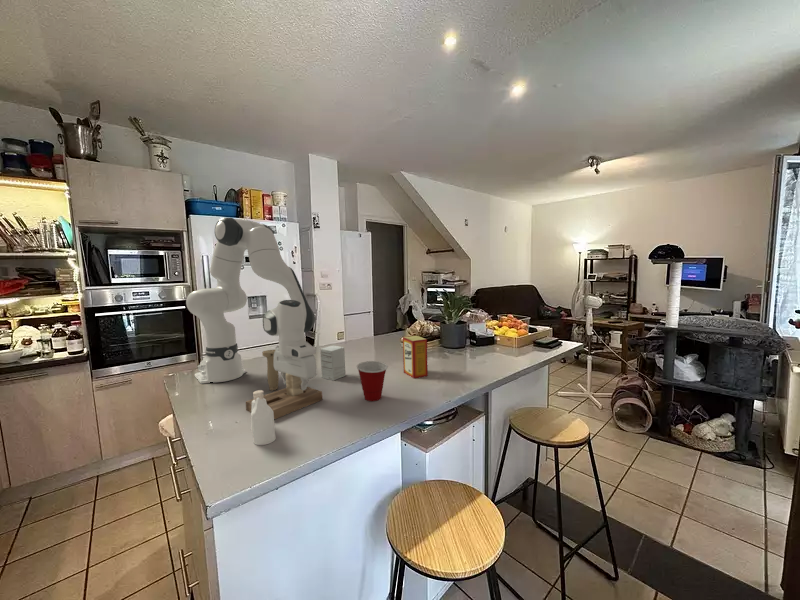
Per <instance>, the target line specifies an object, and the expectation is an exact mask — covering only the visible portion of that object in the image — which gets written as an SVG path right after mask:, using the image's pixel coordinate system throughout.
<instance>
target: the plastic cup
mask: <svg viewBox="0 0 800 600" xmlns="http://www.w3.org/2000/svg"><path fill="white" fill-rule="evenodd" d="M388 367H389V366H388V364H387V363H385V362H382V361H378V360H377V361H376V360H366V361H362V362H359V363H358V364H357V365H356V369H357V370H358V374H359V378H360V383H361V388H362V392H363V393H362V394H363V397H364V400H366V401H367V402H375V401H376V402H377V401H379V400H381V399H382V393H383V388H384V383H385V382H384V381H385V374H386V372H387V370H388Z"/></svg>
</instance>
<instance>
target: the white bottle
mask: <svg viewBox="0 0 800 600" xmlns="http://www.w3.org/2000/svg"><path fill="white" fill-rule="evenodd" d="M264 393H265V392H264V390H262V389H258V390H255V391H253V392H252V395H253V399H254V400H253V401H252V406H251V412H250V414H251V413H252V411H253V409H254V407H255V404H256V399H257V398H260V399H261V400H262V401H264V402H265V403H267V402H266V399H264V397H263V396H264V395H265V394H264ZM250 431H251V432H252V423H251V422H250Z"/></svg>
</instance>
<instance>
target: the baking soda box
mask: <svg viewBox="0 0 800 600" xmlns="http://www.w3.org/2000/svg"><path fill="white" fill-rule="evenodd" d="M402 359H403V360H402V362H403V373H404V374H406V375H407V376H409V377H410V376H411V377H410V378H412V379H419V377H420V378H424V376H425V377H428V374H429V373H428V339H427V338H424V337H422V336H419V335H409V336H402Z"/></svg>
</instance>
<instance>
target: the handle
mask: <svg viewBox="0 0 800 600" xmlns="http://www.w3.org/2000/svg"><path fill="white" fill-rule="evenodd" d="M274 352H275V349H267V350H263V351H262V356H263V357H264V358H266V360H267V362H266V363H267V366H266V367H267V368H266V369H267V370H266V371H267V372H266V375H267V378H266V379H267V384H268V388H269V391H273V390H274V391H277V390H279V381H280V380H279V379H280V378H279V371H276V370H275V369H274ZM276 389H277V390H276Z"/></svg>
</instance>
